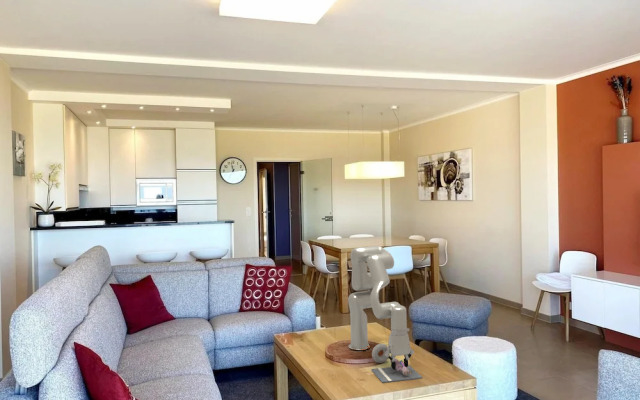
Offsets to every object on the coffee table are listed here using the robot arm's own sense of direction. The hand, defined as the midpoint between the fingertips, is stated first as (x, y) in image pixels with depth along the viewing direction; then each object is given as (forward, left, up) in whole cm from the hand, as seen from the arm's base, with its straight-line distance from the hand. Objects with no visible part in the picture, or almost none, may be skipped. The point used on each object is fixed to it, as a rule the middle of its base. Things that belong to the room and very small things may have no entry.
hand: (399, 367), depth 233 cm
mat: (0, -2, -3) cm, 3 cm away
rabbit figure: (+1, 0, -1) cm, 1 cm away
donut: (-16, -4, -3) cm, 17 cm away
